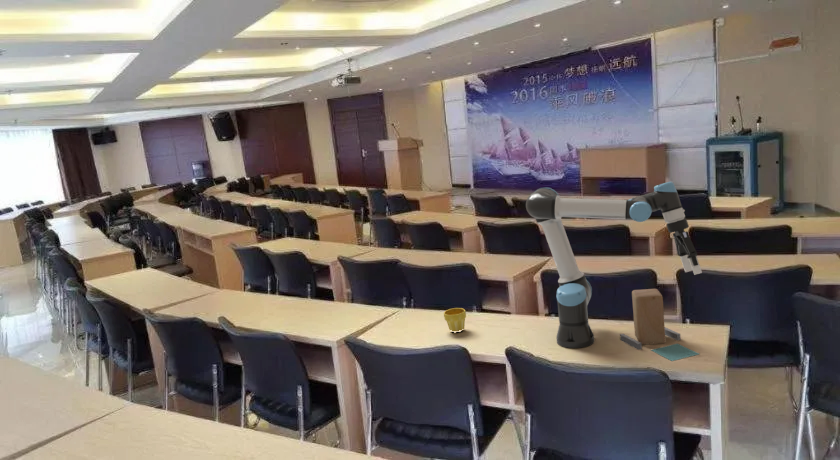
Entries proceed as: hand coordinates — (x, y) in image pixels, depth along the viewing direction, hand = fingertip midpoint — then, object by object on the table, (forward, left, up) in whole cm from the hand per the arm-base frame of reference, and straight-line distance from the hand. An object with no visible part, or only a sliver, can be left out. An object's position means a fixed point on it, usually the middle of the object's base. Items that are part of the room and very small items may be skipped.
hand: (693, 272), depth 216 cm
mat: (+8, -17, -26) cm, 32 cm away
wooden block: (-6, -17, -26) cm, 32 cm away
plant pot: (-62, -81, -26) cm, 105 cm away
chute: (-6, -17, -26) cm, 32 cm away
